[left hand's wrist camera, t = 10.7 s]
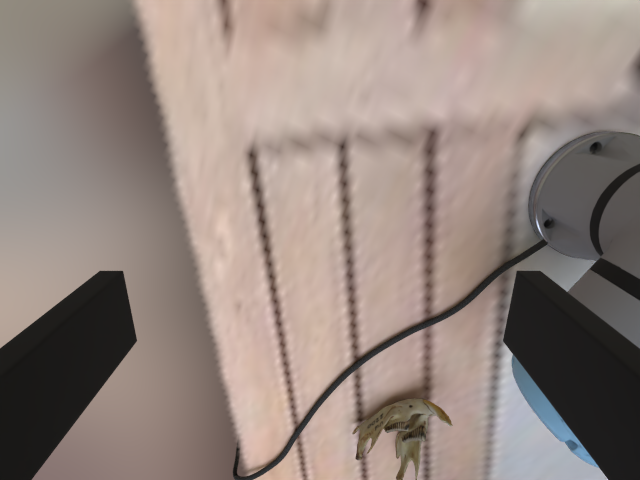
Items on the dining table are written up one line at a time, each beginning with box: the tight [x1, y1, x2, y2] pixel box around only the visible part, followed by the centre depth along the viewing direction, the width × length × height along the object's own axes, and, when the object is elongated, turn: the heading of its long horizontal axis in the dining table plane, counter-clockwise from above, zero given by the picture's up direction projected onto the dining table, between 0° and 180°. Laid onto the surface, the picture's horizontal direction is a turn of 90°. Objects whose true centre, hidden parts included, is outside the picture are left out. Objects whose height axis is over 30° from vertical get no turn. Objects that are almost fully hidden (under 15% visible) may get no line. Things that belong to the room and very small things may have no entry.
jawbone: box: [352, 398, 453, 480], centre depth 54 cm, size 9×15×10 cm
